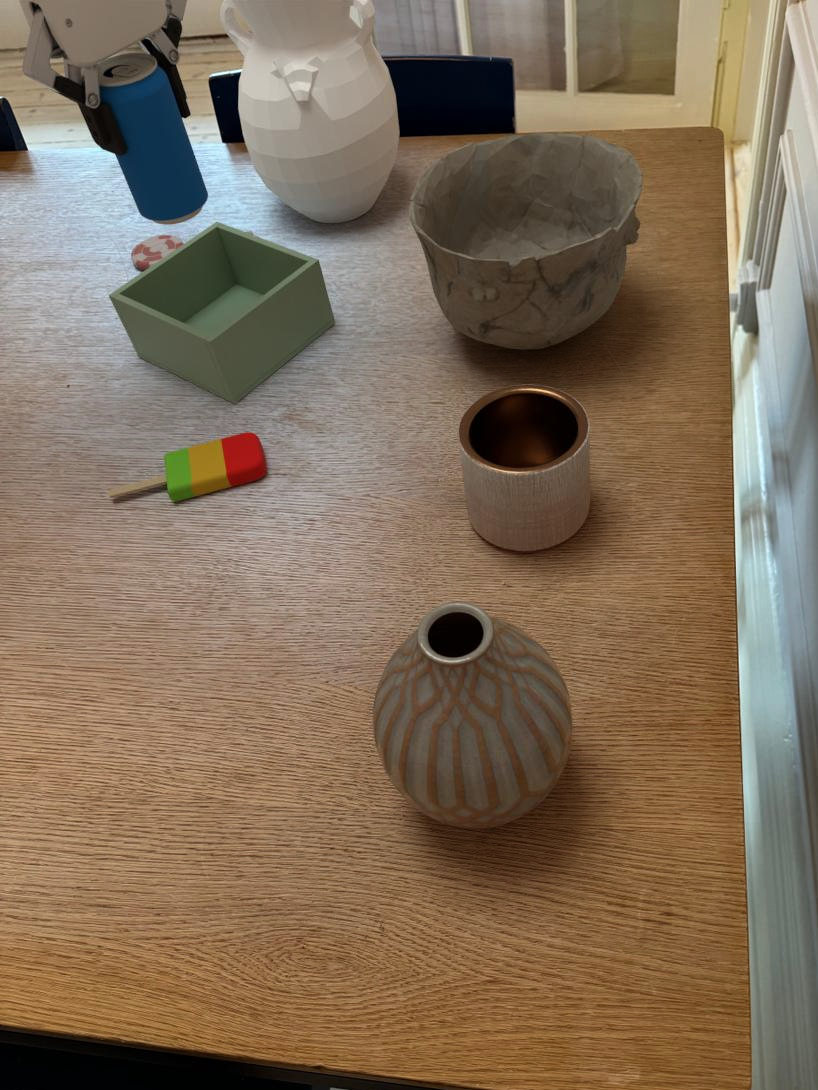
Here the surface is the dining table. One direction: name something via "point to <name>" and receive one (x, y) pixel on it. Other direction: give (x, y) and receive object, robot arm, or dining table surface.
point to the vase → (472, 719)
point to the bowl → (527, 234)
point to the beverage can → (152, 139)
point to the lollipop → (155, 250)
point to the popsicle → (206, 468)
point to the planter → (526, 466)
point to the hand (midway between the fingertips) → (145, 130)
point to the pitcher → (315, 103)
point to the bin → (225, 310)
